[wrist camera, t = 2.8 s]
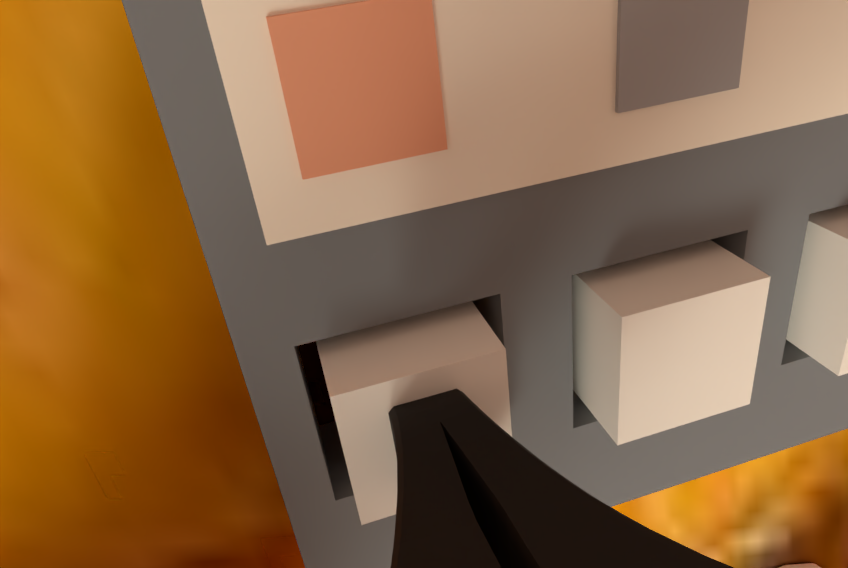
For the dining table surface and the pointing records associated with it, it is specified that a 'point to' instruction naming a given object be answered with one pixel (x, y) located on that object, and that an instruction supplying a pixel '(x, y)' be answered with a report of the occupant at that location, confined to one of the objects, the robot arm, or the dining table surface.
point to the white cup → (801, 566)
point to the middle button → (666, 338)
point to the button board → (497, 200)
